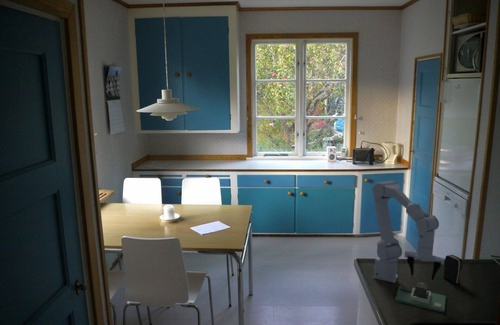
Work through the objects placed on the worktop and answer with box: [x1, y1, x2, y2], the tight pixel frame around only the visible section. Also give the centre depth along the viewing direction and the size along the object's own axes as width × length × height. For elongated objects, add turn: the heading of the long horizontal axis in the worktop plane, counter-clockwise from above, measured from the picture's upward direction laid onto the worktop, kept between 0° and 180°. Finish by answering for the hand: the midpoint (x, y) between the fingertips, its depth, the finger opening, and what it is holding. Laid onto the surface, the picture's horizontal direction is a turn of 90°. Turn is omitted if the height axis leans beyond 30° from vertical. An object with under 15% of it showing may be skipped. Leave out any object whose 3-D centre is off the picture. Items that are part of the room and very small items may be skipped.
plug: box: [415, 282, 428, 299], centre depth 161 cm, size 4×5×5 cm
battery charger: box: [443, 254, 464, 284], centre depth 176 cm, size 7×4×11 cm, turn 23°
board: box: [394, 285, 447, 314], centre depth 161 cm, size 18×12×2 cm, turn 62°
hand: (422, 276), depth 161 cm, fingers open, 7 cm apart
